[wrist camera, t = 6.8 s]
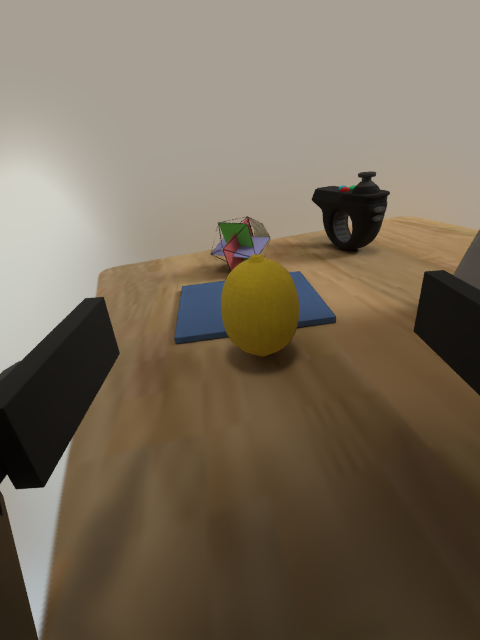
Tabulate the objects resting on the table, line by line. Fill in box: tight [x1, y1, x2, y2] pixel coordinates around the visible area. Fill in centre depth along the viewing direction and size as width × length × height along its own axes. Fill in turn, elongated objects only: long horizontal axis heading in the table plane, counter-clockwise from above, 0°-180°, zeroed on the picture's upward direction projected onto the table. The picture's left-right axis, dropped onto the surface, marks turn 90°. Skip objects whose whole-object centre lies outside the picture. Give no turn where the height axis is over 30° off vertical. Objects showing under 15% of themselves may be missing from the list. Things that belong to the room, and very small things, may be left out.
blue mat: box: [175, 271, 336, 344], centre depth 33 cm, size 14×12×1 cm
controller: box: [312, 172, 390, 250], centre depth 45 cm, size 4×12×10 cm, turn 23°
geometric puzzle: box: [210, 216, 271, 271], centre depth 41 cm, size 7×7×8 cm
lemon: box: [221, 254, 300, 357], centre depth 23 cm, size 6×6×8 cm
